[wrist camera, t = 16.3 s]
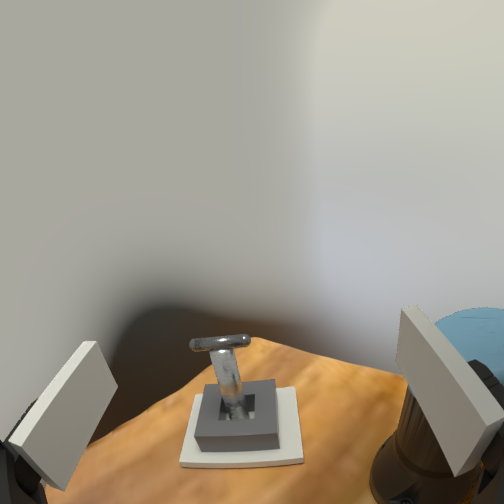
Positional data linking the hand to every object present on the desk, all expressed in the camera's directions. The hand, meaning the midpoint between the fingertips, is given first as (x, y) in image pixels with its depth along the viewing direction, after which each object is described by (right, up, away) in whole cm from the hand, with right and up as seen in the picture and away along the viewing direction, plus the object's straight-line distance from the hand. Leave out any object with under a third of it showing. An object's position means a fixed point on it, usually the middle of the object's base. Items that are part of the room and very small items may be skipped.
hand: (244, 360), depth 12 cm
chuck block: (-1, -23, +29) cm, 37 cm away
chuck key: (-1, -21, +29) cm, 36 cm away
